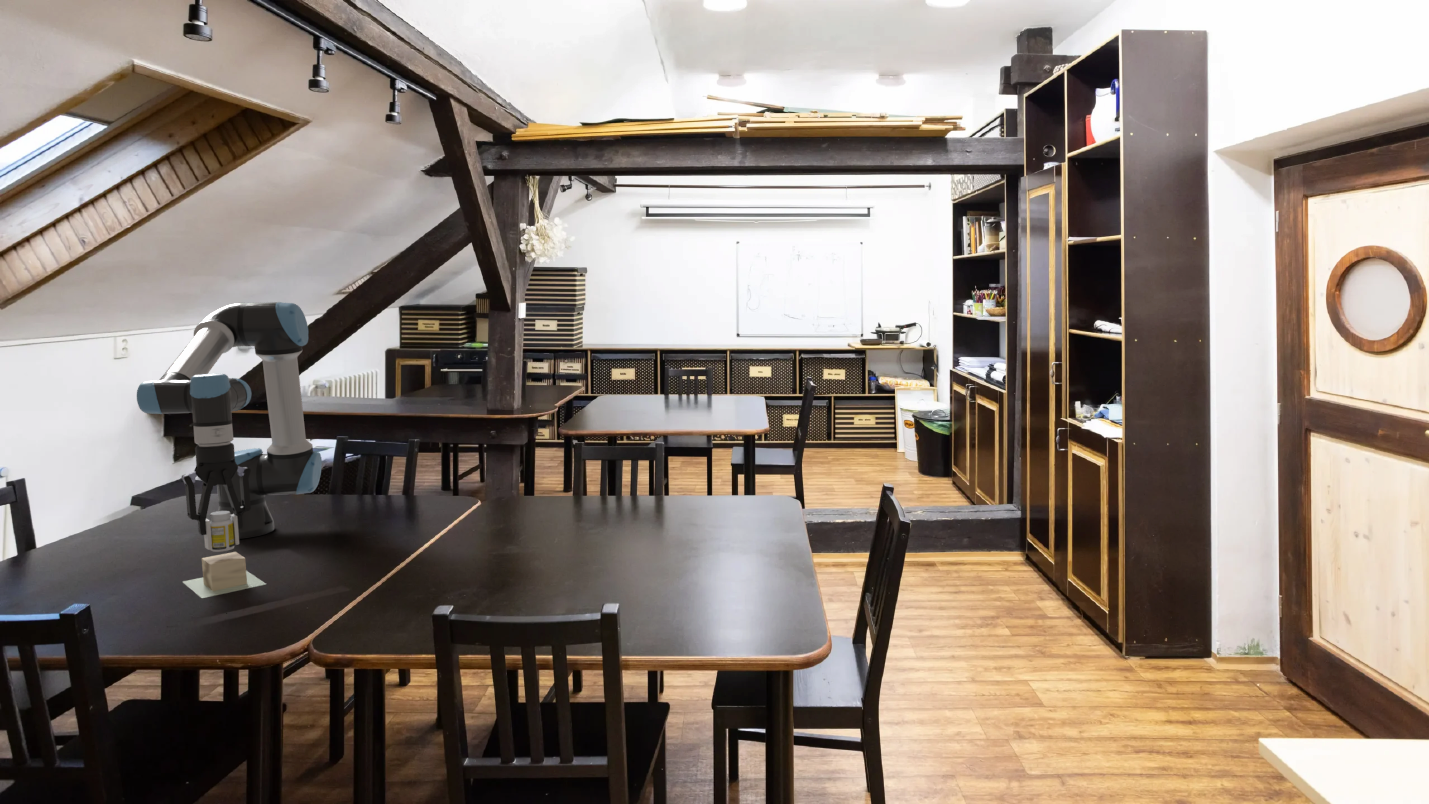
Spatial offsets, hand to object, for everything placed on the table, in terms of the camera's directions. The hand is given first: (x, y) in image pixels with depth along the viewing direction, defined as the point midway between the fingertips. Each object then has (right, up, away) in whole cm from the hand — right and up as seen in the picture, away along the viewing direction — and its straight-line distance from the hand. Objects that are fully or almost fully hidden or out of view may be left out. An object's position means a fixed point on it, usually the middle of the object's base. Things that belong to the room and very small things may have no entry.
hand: (222, 545), depth 196 cm
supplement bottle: (0, -1, 0) cm, 1 cm away
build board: (-1, -10, +2) cm, 10 cm away
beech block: (0, -9, +1) cm, 9 cm away
